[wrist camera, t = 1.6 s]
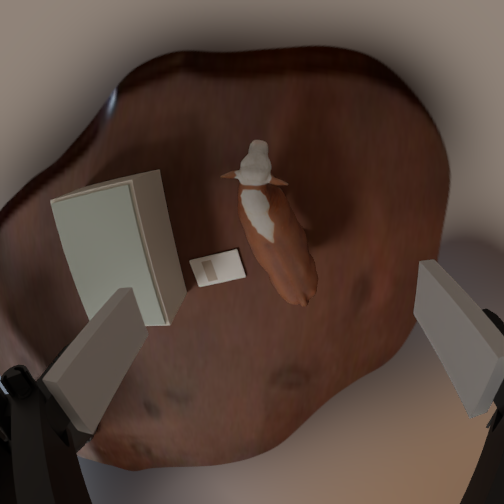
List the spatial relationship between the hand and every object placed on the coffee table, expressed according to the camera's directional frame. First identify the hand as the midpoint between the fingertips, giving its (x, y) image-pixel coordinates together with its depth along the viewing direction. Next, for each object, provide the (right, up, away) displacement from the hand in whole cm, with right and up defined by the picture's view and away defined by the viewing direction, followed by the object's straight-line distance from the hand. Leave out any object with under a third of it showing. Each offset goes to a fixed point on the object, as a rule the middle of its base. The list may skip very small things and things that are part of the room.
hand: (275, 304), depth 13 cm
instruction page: (-4, +1, +17) cm, 18 cm away
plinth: (-13, +3, +17) cm, 22 cm away
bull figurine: (+1, +6, +15) cm, 16 cm away
